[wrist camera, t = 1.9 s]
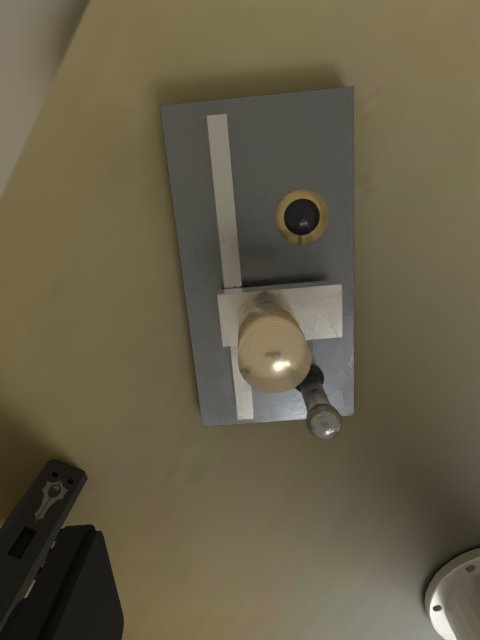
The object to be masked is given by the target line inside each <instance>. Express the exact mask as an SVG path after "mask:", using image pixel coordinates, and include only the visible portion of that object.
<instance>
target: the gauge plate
mask: <svg viewBox="0 0 480 640" xmlns="http://www.w3.org/2000/svg"><path fill="white" fill-rule="evenodd" d="M160 112H161V119H162V127H163V134H164V141H165V149H166V156H167V164H168V171H169V179H170V186H171V194H172V201H173V209H174V216H175V224H176V231H177V238H178V246H179V253H180V261H181V268H182V276H183V283H184V291H185V298H186V306H187V313H188V321H189V328H190V336H191V343H192V350H193V358H194V365H195V373H196V380H197V388H198V395H199V403H200V410H201V418H202V425H203V427H207V426H220V425H233V424H245V423H258V422H271V421H284V420H297V419H306V425H307V428H308V430H309V432H310V433H311V434H312V435H313V436H314V437H316V438H318V439H321V440H329V439H332V438H334V437H335V436H336V435H337V434H338V433H339V432H340V430H341V427H342V418H341V416H348V415H354V86H352V87H342V88H332V89H321V90H311V91H301V92H291V93H281V94H271V95H261V96H251V97H240V98H230V99H220V100H210V101H200V102H190V103H180V104H170V105H160ZM328 280H338V281H339V282H340V283H341V284H342V337H336V338H324V339H312V340H306V341H307V343H308V345H309V347H310V351H311V357H312V359H311V367H310V370H309V372H308V374H307V376H306V377H305V379H304V380H303V381H302V382H301V383H300V384H299V385H298V386H296V387H295V388H293V389H291V390H289V391H286V392H282V393H265V392H262V391H259V390H257V389H255V388H253V387H252V386H250V385H249V384H248V383H247V382H246V381H245V380H244V378H243V377H242V375H241V373H240V371H239V367H238V346H228V347H223V344H222V334H221V325H220V316H219V307H218V298H217V294H218V290H224V289H235V288H247V287H258V286H270V285H281V284H293V283H304V282H316V281H328Z"/></svg>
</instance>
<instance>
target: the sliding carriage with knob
mask: <svg viewBox="0 0 480 640" xmlns="http://www.w3.org/2000/svg"><path fill="white" fill-rule="evenodd" d="M217 298H218V307H219V316H220V325H221V334H222V344H223V347H228V346H238V367H239V371H240V373H241V375H242V377H243V378H244V380H245V381H246V382H247V383H248V384H249V385H250V386H252V387H253V388H255V389H257V390H259V391H262V392H265V393H282V392H286V391H289V390H291V389H293V388H295V387H296V386H298V385H299V384H300V383H301V382H302V381H303V380H304V379H305V377H306V376H307V374H308V372H309V370H310V367H311V359H312V357H311V351H310V347H309V345H308V343H307V341H306V340H312V339H324V338H336V337H342V284H341V283H340V282H339V281H338V280H328V281H316V282H304V283H293V284H281V285H270V286H258V287H247V288H235V289H224V290H218V294H217Z"/></svg>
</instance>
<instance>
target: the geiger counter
mask: <svg viewBox="0 0 480 640" xmlns="http://www.w3.org/2000/svg"><path fill="white" fill-rule="evenodd" d="M86 480H87V476H86V474H85V472H83V471H81V470H79V469H76V468H74V467H72V466H70V465H67V464H65V463H63V462H61V461H58V460H56V459H55V460H51V461H48V463H47V464H46V465H45V467H44V468H43V470H42V471H41V472H40V474H39V475H38V477H37V478H36V479H35V481H34V482H33V484H32V485H31V486H30V488H29V489H28V491H27V492H26V493H25V495H24V496H23V498H22V499H21V500H20V502H19V503H18V505H17V506H16V507H15V509H14V510H13V512H12V513H11V514H10V516H9V517H8V519H7V520H6V521H5V523H4V524H3V526H2V527H1V528H0V632H1V630H2V628H3V627H4V625H5V623H6V621H7V619H8V617H9V615H10V614H11V612H12V610H13V609H14V607H15V606H16V604H17V603H18V602H19V601H20V600H22V599H23V598H24V596H25V594H26V593H27V591H28V589H29V587H30V585H31V583H32V581H33V579H34V580H37V578H38V576H39V574H40V572H41V570H42V567H40V566H41V564H42V563H43V561H46V560H47V558H48V556H49V554H50V553H51V551H52V549H51V546H52V544H53V542H54V541H57V539H58V537H59V535H60V533H61V532H62V530H63V529H61V527H62V525H63V523H64V521H65V520H66V518H67V516H68V514H69V512H70V510H71V508H72V506H73V505H74V503H75V501H76V499H77V497H78V495H79V493H80V491H81V490H82V488H83V486H84V484H85V482H86Z"/></svg>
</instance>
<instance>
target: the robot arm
mask: <svg viewBox="0 0 480 640" xmlns="http://www.w3.org/2000/svg"><path fill="white" fill-rule="evenodd" d="M425 610H426V613H427V615H428V618H429V620H430V622H431V624H432V626H433V628H434V629H435V631H436V632H437V633H438V634H439V635H440V636H441V637H442V638H444V639H445V640H480V548H477V549H474V550H471V551H468V552H465V553H463V554H461V555H459V556H458V557H456V558H454V559H452V560H451V561H450V562H448V563H447V564H446V565H444V566H443V567H442V568H441V569H440V570H439V571H438V572H437V573H436V574H435V576H434V577H433V579H432V580H431V582H430V583H429V586H428V588H427V591H426V594H425ZM123 626H124V618H123V612H122V608H121V604H120V600H119V596H118V592H117V588H116V584H115V580H114V576H113V572H112V568H111V564H110V560H109V556H108V552H107V548H106V544H105V540H104V536H103V533H102V532H101V531H96V530H95V527H94V526H93V525H92V524H91V525H77V526H66V527H65V528H64V529H63V530H62V532H61V533H60V535H59V537H58V539H57V541H56V543H55V545H54V547H53V549H52V551H51V553H50V554H49V556H48V558H47V560H46V562H45V564H44V566H43V568H42V570H41V572H40V574H39V576H38V578H37V580H36V581H35V583H34V585H33V587H32V589H31V591H30V593H29V595H28V597H26V598H23V599H22V600H20V601H19V602H18V603H17V604H16V606H15V607H14V609H13V610H12V612H11V614H10V615H9V617H8V619H7V621H6V623H5V625H4V627H3V628H2V630H1V632H0V640H121V638H122V634H123Z"/></svg>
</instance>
